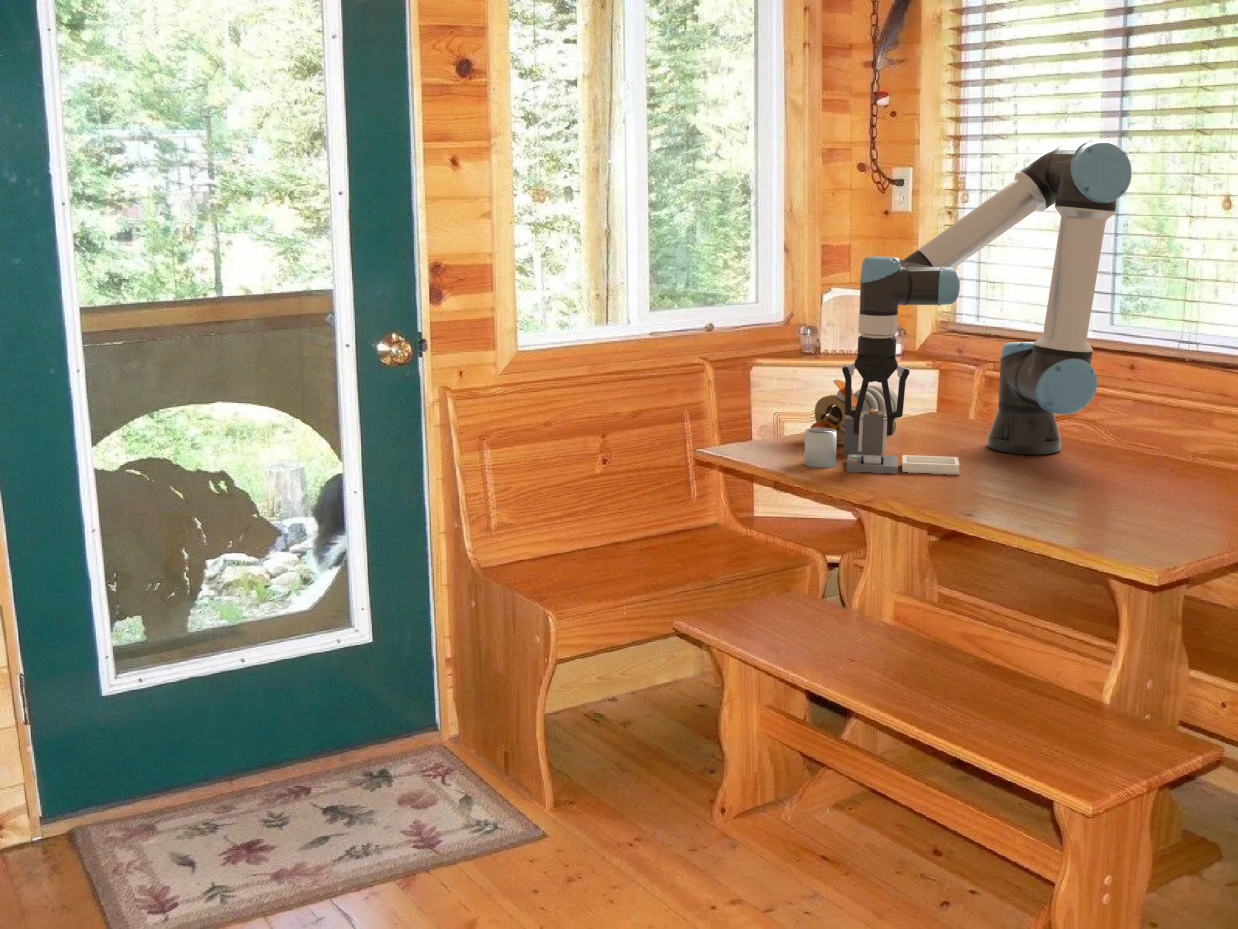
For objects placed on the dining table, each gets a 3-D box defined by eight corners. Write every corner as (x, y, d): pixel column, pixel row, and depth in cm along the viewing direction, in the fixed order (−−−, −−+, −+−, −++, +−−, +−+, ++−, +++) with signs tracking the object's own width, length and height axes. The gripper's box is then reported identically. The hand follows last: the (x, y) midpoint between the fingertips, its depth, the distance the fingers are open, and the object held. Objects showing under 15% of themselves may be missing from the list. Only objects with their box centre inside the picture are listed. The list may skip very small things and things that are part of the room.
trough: (957, 466, 287) (957, 457, 286) (959, 475, 280) (959, 465, 279) (902, 464, 289) (902, 455, 288) (902, 472, 282) (902, 463, 281)
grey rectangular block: (880, 458, 289) (881, 448, 289) (880, 465, 282) (881, 455, 282) (864, 457, 290) (864, 447, 289) (863, 464, 283) (863, 455, 282)
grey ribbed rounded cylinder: (912, 432, 322) (914, 383, 319) (868, 442, 310) (870, 392, 308) (873, 425, 329) (875, 378, 327) (829, 435, 317) (831, 387, 315)
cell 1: (863, 452, 300) (864, 413, 298) (862, 456, 296) (864, 416, 294) (844, 452, 301) (845, 412, 299) (843, 456, 297) (844, 415, 295)
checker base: (897, 463, 290) (897, 454, 290) (897, 474, 281) (897, 465, 280) (847, 461, 292) (848, 452, 292) (846, 472, 282) (846, 463, 282)
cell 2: (882, 450, 287) (883, 408, 285) (882, 454, 283) (883, 412, 281) (862, 449, 288) (863, 407, 286) (861, 453, 284) (863, 411, 282)
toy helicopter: (827, 436, 316) (829, 376, 313) (904, 451, 302) (907, 387, 299) (804, 441, 311) (806, 380, 308) (881, 456, 296) (884, 392, 293)
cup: (836, 461, 292) (837, 427, 290) (835, 468, 285) (836, 434, 284) (805, 460, 293) (806, 426, 291) (803, 467, 287) (804, 432, 285)
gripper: (920, 334, 282) (914, 448, 288) (834, 331, 285) (830, 445, 291) (921, 339, 275) (915, 456, 280) (833, 336, 278) (828, 452, 283)
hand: (872, 450), depth 285 cm, fingers closed on cell 2, 4 cm apart
